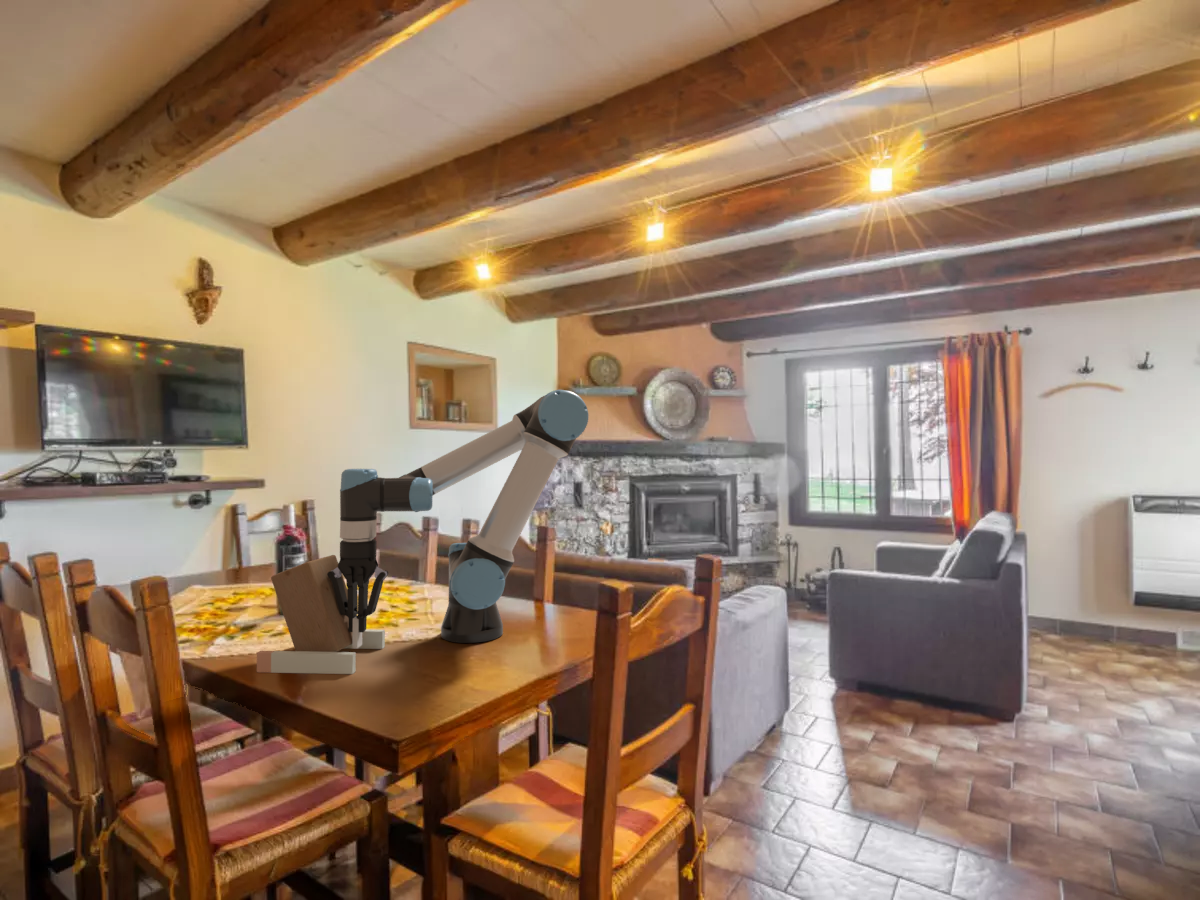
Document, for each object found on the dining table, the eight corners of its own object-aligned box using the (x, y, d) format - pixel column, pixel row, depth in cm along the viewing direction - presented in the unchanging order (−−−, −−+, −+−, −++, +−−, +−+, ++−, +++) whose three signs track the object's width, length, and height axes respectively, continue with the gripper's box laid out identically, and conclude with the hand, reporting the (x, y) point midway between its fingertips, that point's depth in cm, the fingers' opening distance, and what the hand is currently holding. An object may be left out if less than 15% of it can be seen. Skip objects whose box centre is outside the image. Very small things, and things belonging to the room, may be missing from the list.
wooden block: (338, 651, 135) (307, 561, 137) (299, 665, 137) (269, 576, 138) (364, 637, 145) (336, 553, 146) (327, 650, 147) (299, 568, 148)
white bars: (384, 646, 150) (384, 629, 150) (352, 674, 132) (352, 654, 132) (300, 645, 150) (300, 628, 150) (256, 672, 132) (256, 652, 132)
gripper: (392, 537, 144) (391, 642, 144) (337, 536, 145) (336, 640, 145) (380, 542, 137) (379, 652, 137) (322, 541, 137) (321, 651, 137)
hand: (357, 646), depth 141 cm, fingers closed
